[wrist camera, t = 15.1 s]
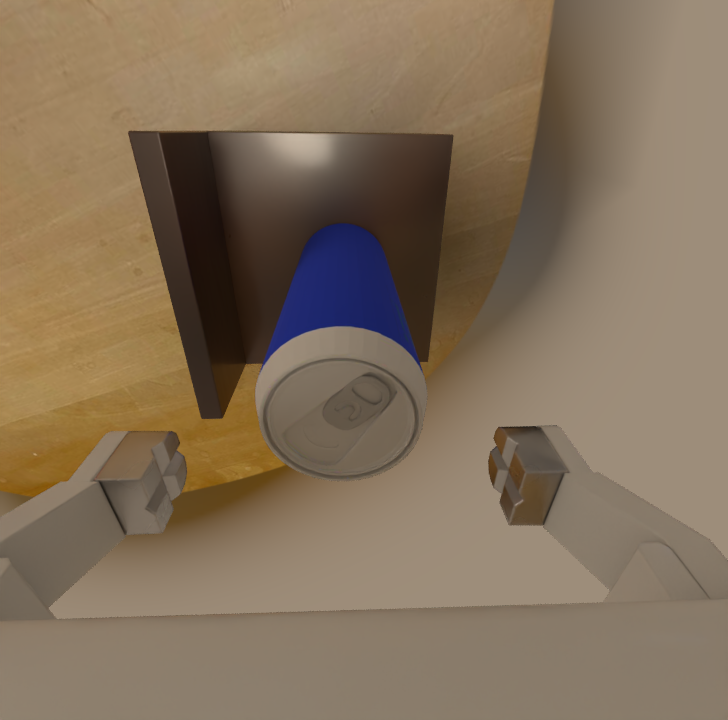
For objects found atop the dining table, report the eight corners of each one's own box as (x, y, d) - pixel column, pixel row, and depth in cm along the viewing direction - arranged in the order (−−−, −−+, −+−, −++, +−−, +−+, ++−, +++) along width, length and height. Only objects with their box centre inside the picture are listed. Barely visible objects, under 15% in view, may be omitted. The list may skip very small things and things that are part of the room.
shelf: (426, 133, 27) (490, 136, 15) (411, 315, 34) (447, 415, 22) (225, 130, 27) (126, 130, 15) (252, 316, 34) (201, 419, 22)
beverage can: (347, 319, 26) (350, 510, 13) (284, 268, 24) (211, 433, 11) (402, 261, 24) (471, 416, 11) (338, 201, 22) (329, 303, 9)
